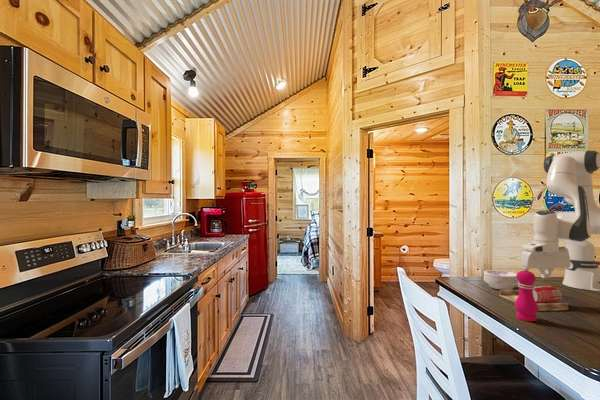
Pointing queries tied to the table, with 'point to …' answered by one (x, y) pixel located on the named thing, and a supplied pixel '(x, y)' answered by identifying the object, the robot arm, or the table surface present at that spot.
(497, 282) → the paper bowls
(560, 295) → the soda can
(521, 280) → the pepper mill
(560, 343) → the table surface
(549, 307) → the board
